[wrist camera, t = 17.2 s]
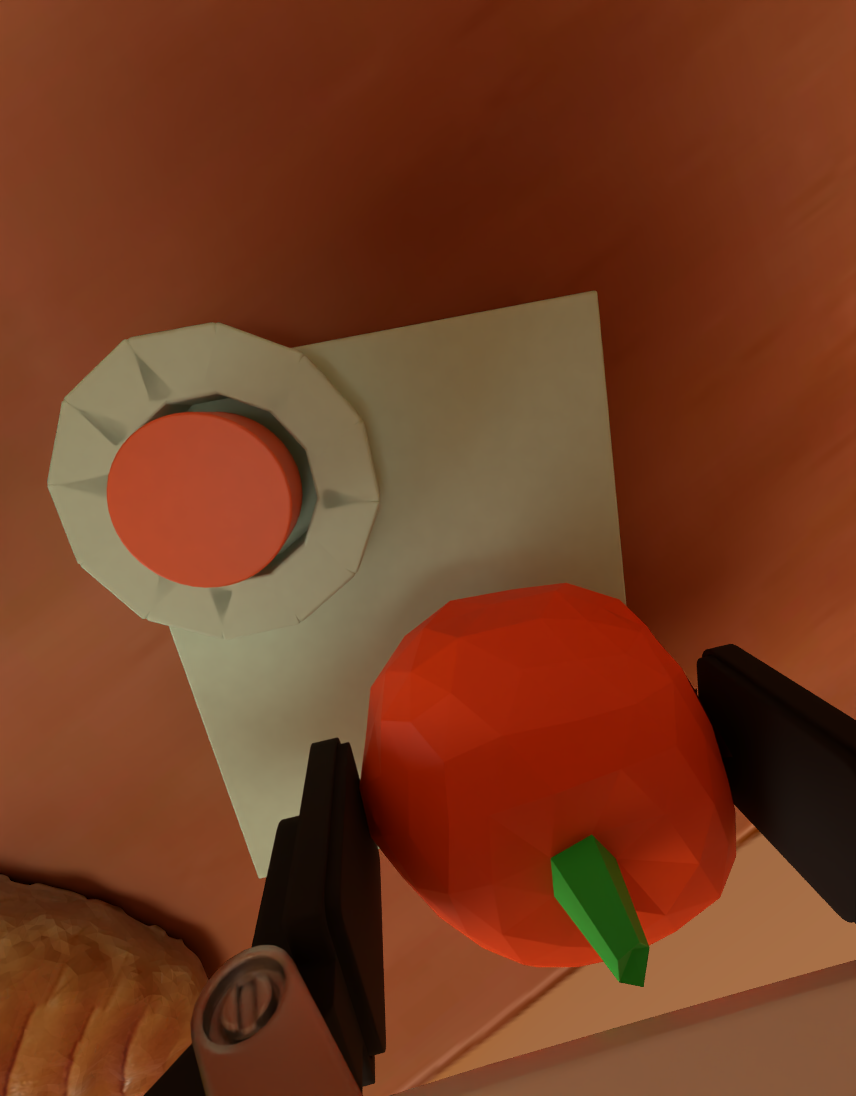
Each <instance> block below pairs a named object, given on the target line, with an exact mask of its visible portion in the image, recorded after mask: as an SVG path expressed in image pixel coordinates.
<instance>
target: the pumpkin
mask: <svg viewBox="0 0 856 1096" xmlns="http://www.w3.org/2000/svg"><path fill="white" fill-rule="evenodd" d="M724 757H733V756H732V754H731V752H730V751H729V749H728V747H727V745H726V744H725V742H724V740H723V738H722V737H721V735H720V733H719V732H718V730H717V728H716V726H715V725H714V723H713V721H712V719H711V718H710V716H709V714H708V712H707V711H706V709H705V707H704V706H703V704H702V702H701V700H700V699H699V697H698V695H697V688H696V689H695V690H694V688H693V686H692V685H691V683H690V681H689V680H688V678H687V677H686V675H685V673H684V671H683V670H682V668H681V667H680V666H679V665H678V663H677V662H676V661H675V660H674V659H673V658H672V657H671V656H670V654H669V653H668V652H667V651H666V650H665V649H664V648H663V647H662V645H661V644H660V643H659V642H658V641H657V640H656V639H655V637H654V636H653V634H652V633H651V631H650V630H649V628H648V627H647V626H646V625H645V624H644V623H643V622H642V621H641V620H640V619H639V618H638V617H637V616H636V615H635V614H634V613H633V612H632V611H631V610H630V609H629V608H628V607H627V606H626V605H625V604H624V603H623V602H621V601H620V600H619V599H617V598H613V597H610V596H607V595H604V594H601V593H598V592H594V591H591V590H588V589H585V588H582V587H579V586H575V585H572V584H569V583H559V584H551V585H543V586H535V587H527V588H519V589H511V590H506V591H500V592H495V593H489V594H484V595H479V596H473V597H468V598H462V599H457V600H451V601H449V602H448V603H447V604H445V605H444V606H443V607H441V608H440V609H439V610H438V611H436V612H435V613H434V614H432V615H431V616H430V617H429V618H427V619H426V620H425V621H423V622H422V623H421V624H420V625H418V626H417V627H416V628H414V629H413V630H412V631H411V632H409V633H408V634H407V635H405V636H404V638H403V639H402V641H401V642H400V644H399V645H398V647H397V648H396V650H395V651H394V653H393V654H392V656H391V657H390V659H389V660H388V662H387V663H386V665H385V667H384V668H383V670H382V671H381V673H380V674H379V676H378V677H377V679H376V680H375V682H374V683H373V685H372V686H371V689H370V699H369V709H368V719H367V729H366V739H365V747H364V755H363V762H362V770H361V778H360V786H359V788H360V793H361V797H362V801H363V805H364V810H365V814H366V818H367V822H368V826H369V831H370V835H371V838H372V839H373V841H374V842H375V843H376V844H377V846H378V847H379V848H380V849H381V851H382V852H383V853H384V854H385V856H386V857H387V858H388V859H389V861H390V862H391V863H392V864H393V866H394V867H395V868H396V870H397V871H398V872H399V873H400V875H401V876H402V877H403V878H404V879H405V880H406V882H407V883H408V884H409V885H410V886H411V887H412V888H413V889H414V890H415V891H416V892H417V893H418V894H419V896H420V897H421V898H422V899H423V900H424V901H425V902H426V903H427V904H428V905H429V906H430V907H431V908H432V909H433V911H434V912H435V913H436V914H437V915H438V916H439V917H440V918H441V919H443V920H444V921H446V922H447V923H448V924H450V925H451V926H453V927H454V928H455V929H457V930H458V931H460V932H461V933H463V934H464V935H465V936H467V937H468V938H470V939H471V940H472V941H474V942H475V943H477V944H478V945H479V946H481V947H482V948H484V949H487V950H489V951H491V952H494V953H496V954H499V955H501V956H504V957H506V958H509V959H511V960H513V961H516V962H518V963H521V964H523V965H527V966H534V967H580V966H585V965H589V964H594V963H599V962H604V963H605V964H606V965H607V967H608V968H609V969H610V971H611V972H612V973H613V975H614V976H615V977H616V978H617V980H618V981H619V982H620V983H626V984H631V985H636V986H641V987H644V980H645V973H646V967H647V960H648V954H649V945H651V944H653V943H655V942H657V941H659V940H660V939H662V938H664V937H666V936H668V935H670V934H672V933H674V932H676V931H677V930H678V929H679V928H681V927H682V926H683V925H685V924H686V923H687V922H689V921H690V920H691V919H692V918H694V917H695V916H697V915H698V914H699V913H701V912H702V911H703V910H704V909H706V908H707V907H708V906H710V905H711V904H712V903H714V902H715V901H716V900H718V899H719V898H720V896H721V893H722V891H723V889H724V886H725V884H726V881H727V879H728V876H729V873H730V871H731V868H732V866H733V863H734V860H735V858H736V824H735V808H734V804H733V799H732V795H731V790H730V786H729V782H728V778H727V774H726V771H725V767H724V764H723V761H722V758H724Z"/></svg>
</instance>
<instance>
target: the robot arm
mask: <svg viewBox="0 0 856 1096" xmlns="http://www.w3.org/2000/svg"><path fill="white" fill-rule="evenodd" d="M697 678H698V695H699V699H700V700H701V702H702V704H703V706H704V707H705V709H706V711H707V712H708V714H709V716H710V718H711V719H712V721H713V723H714V725H715V726H716V728H717V730H718V732H719V733H720V735H721V737H722V738H723V740H724V742H725V744H726V745H727V747H728V749H729V751H730V752H731V754H732V756H733V757H724V758H722V761H723V764H724V767H725V771H726V774H727V778H728V782H729V786H730V790H731V795H732V799H733V804H734V805H735V806H736V807H737V808H738V809H739V810H740V811H741V812H742V813H743V814H744V815H745V816H746V817H747V818H748V819H749V821H750V822H751V823H752V824H753V825H754V826H755V827H756V828H757V829H758V830H759V831H760V832H761V833H762V834H763V835H764V836H765V837H766V839H767V840H768V841H769V842H770V843H771V844H772V845H773V846H774V847H775V848H776V849H777V850H778V851H779V852H780V853H781V855H783V857H784V858H785V859H786V860H787V861H788V862H789V863H790V864H791V865H792V866H793V867H794V868H795V869H796V870H797V871H798V872H799V874H801V876H802V877H803V878H804V879H805V880H806V881H807V882H808V883H809V884H810V885H811V886H812V887H813V888H814V889H815V891H817V893H818V894H819V895H820V896H821V897H822V898H823V899H824V900H825V901H826V902H827V903H828V904H829V905H830V906H831V908H832V909H833V910H834V911H835V912H836V913H837V914H838V915H839V916H841V918H842V919H844V920H845V921H847V922H851V923H852V922H855V923H856V720H854V719H853V718H851V717H850V716H848V715H846V714H845V713H843V712H842V711H840V710H838V709H837V708H835V707H834V706H832V705H830V704H829V703H827V702H826V701H824V700H822V699H821V698H819V697H818V696H816V695H814V694H813V693H811V692H810V691H808V690H806V689H805V688H803V687H802V686H800V685H798V684H797V683H795V682H794V681H792V680H790V679H789V678H787V677H786V676H784V675H782V674H781V673H779V672H778V671H776V670H775V669H773V668H771V667H770V666H768V665H767V664H765V663H763V662H762V661H760V660H759V659H757V658H755V657H754V656H752V655H751V654H749V653H747V652H746V651H744V650H743V649H741V648H739V647H738V646H736V645H734V644H728V645H724V646H719V647H715V648H711V649H707V650H705V651H704V652H703V655H702V658H699V659H698V661H697ZM359 786H360V778H359V774H358V771H357V767H356V763H355V759H354V756H353V752H352V748H351V745H350V743H349V742H346V743H342V744H341V742H340V740H339V738H338V737H336V738H332V739H328V740H324V741H320V742H315V743H312V744H311V747H310V752H309V758H308V764H307V771H306V777H305V783H304V789H303V795H302V801H301V807H300V813H299V816H295V817H291V818H287V819H282V820H281V821H280V822H279V824H278V827H277V830H276V835H275V840H274V845H273V849H272V854H271V859H270V863H269V868H268V873H267V877H266V882H265V887H264V891H263V896H262V901H261V905H260V910H259V915H258V920H257V924H256V929H255V934H254V938H253V943H252V948H249V949H246V950H244V951H242V952H241V953H239V954H237V955H235V956H234V957H232V958H230V959H229V960H228V961H227V962H226V963H225V964H224V965H222V966H221V967H220V968H219V969H218V970H217V971H216V972H215V973H214V974H213V976H212V977H211V978H210V980H209V981H208V982H207V983H206V985H205V986H204V987H203V989H202V991H201V993H200V995H199V997H198V999H197V1001H196V1003H195V1005H194V1009H193V1013H192V1018H191V1022H190V1029H191V1041H192V1044H191V1045H190V1046H189V1047H188V1048H187V1049H186V1050H185V1051H184V1052H183V1053H182V1054H181V1056H180V1057H179V1058H178V1059H177V1060H176V1061H175V1062H174V1063H173V1064H172V1065H171V1066H170V1067H169V1069H168V1070H167V1071H166V1072H165V1073H164V1074H163V1075H162V1076H161V1077H160V1078H159V1079H158V1080H157V1082H156V1083H155V1084H154V1085H153V1086H152V1087H151V1088H150V1089H149V1090H148V1091H147V1092H146V1093H145V1095H144V1096H363V1095H362V1087H363V1086H367V1085H370V1084H374V1083H375V1055H377V1054H380V1053H384V1052H385V1049H386V1030H385V999H384V969H383V938H382V908H381V877H380V858H379V850H378V846H377V844H376V843H375V842H374V841H373V839H372V838H371V835H370V831H369V826H368V822H367V818H366V814H365V810H364V805H363V801H362V797H361V793H360V788H359ZM390 1096H856V960H854V961H850V962H847V963H843V964H839V965H836V966H832V967H829V968H825V969H821V970H818V971H815V972H811V973H807V974H804V975H800V976H797V977H793V978H789V979H786V980H783V981H779V982H775V983H772V984H768V985H765V986H761V987H758V988H754V989H750V990H747V991H744V992H740V993H737V994H733V995H729V996H726V997H722V998H719V999H715V1000H712V1001H708V1002H704V1003H701V1004H697V1005H694V1006H690V1007H687V1008H683V1009H680V1010H676V1011H673V1012H669V1013H666V1014H662V1015H659V1016H655V1017H652V1018H648V1019H645V1020H641V1021H638V1022H634V1023H631V1024H627V1025H624V1026H620V1027H617V1028H613V1029H610V1030H607V1031H603V1032H600V1033H596V1034H593V1035H589V1036H586V1037H582V1038H579V1039H576V1040H572V1041H569V1042H565V1043H562V1044H558V1045H555V1046H551V1047H548V1048H545V1049H541V1050H538V1051H534V1052H531V1053H528V1054H524V1055H521V1056H517V1057H513V1058H510V1059H507V1060H503V1061H500V1062H497V1063H493V1064H489V1065H486V1066H483V1067H480V1068H477V1069H473V1070H470V1071H467V1072H464V1073H460V1074H457V1075H454V1076H451V1077H448V1078H445V1079H441V1080H439V1081H435V1082H432V1083H429V1084H425V1085H422V1086H419V1087H416V1088H413V1089H409V1090H406V1091H403V1092H400V1093H397V1094H393V1095H390Z"/></svg>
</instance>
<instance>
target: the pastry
mask: <svg viewBox="0 0 856 1096" xmlns="http://www.w3.org/2000/svg"><path fill="white" fill-rule="evenodd" d="M207 982H208V978H207V975H206V973H205V971H204V968H203V966H202V964H201V961H200V960H199V958H198V957H197V956H196V955H195V954H194V953H193V952H192V951H191V950H189V949H188V948H187V947H186V946H185V945H184V943H183V940H182V939H178V940H177V939H174V938H171V937H168V935H167V934H166V931H165V930H163V929H162V928H161V927H159V926H157V925H152V926H147V925H144V924H142V923H141V922H139V921H137V920H135V919H133V918H132V917H130V916H128V915H127V914H126V913H125V912H124V911H123V910H122V908H120V907H119V906H113V905H110V904H108V903H106V902H104V901H101V900H98V899H88V900H87V899H86V898H85V896H83V895H80V894H77V893H75V892H72V891H69V890H65V889H59V888H54V887H50V886H47V885H44V884H40V883H36V884H33V885H24V884H20V883H15V882H13V881H10V879H9V877H8V876H5V875H1V874H0V1096H135V1095H137V1094H141V1093H145V1092H147V1091H148V1090H149V1089H150V1088H151V1087H152V1086H153V1085H154V1084H155V1083H156V1082H157V1080H158V1079H159V1078H160V1077H161V1076H162V1075H163V1074H164V1073H165V1072H166V1071H167V1070H168V1069H169V1067H170V1066H171V1065H172V1064H173V1063H174V1062H175V1061H176V1060H177V1059H178V1058H179V1057H180V1056H181V1054H182V1053H183V1052H184V1051H185V1050H186V1049H187V1048H188V1047H189V1046H190V1045H191V1044H192V1041H191V1029H190V1022H191V1018H192V1013H193V1009H194V1005H195V1003H196V1001H197V999H198V997H199V995H200V993H201V991H202V989H203V987H204V986H205V985H206V983H207Z"/></svg>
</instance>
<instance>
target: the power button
mask: <svg viewBox="0 0 856 1096" xmlns="http://www.w3.org/2000/svg"><path fill="white" fill-rule="evenodd" d="M302 496H303V493H302V482H301V477H300V473H299V470H298V467H297V465H296V463H295V460H294V458H293V456H292V455H291V453H290V452H289V450H288V449H287V447H286V446H285V445H284V444H283V442H282V441H281V440H280V439H279V438H278V437H277V436H276V435H275V434H274V433H273V432H271V431H270V430H269V429H267V428H266V427H265V426H263V425H261V424H260V423H258V422H256V421H254V420H252V419H249V418H247V417H245V416H241V415H237V414H234V413H227V412H181V413H173V414H169V415H166V416H162V417H159V418H157V419H155V420H152V421H150V422H148V423H147V424H145V425H143V426H142V427H140V428H139V429H138V430H136V431H135V432H134V433H133V434H132V435H130V437H129V438H128V439H127V440H126V441H125V442H124V443H123V444H122V446H121V447H120V449H119V450H118V452H117V454H116V456H115V458H114V460H113V462H112V464H111V468H110V471H109V475H108V481H107V504H108V511H109V514H110V518H111V521H112V524H113V526H114V528H115V531H116V533H117V535H118V536H119V538H120V539H121V541H122V543H123V544H124V546H125V547H126V548H127V549H128V551H129V552H130V553H131V554H132V555H133V556H134V557H135V558H136V559H137V560H138V561H139V562H140V563H141V564H143V565H144V566H145V567H147V568H148V569H149V570H151V571H153V572H154V573H156V574H157V575H159V576H161V577H164V578H166V579H168V580H170V581H173V582H176V583H179V584H183V585H188V586H192V587H203V588H212V587H222V586H228V585H232V584H235V583H239V582H241V581H244V580H246V579H248V578H250V577H252V576H253V575H255V574H257V573H259V572H260V571H261V570H262V569H264V568H265V567H266V566H267V565H268V564H269V563H270V562H271V561H272V560H273V559H274V558H275V557H276V555H277V554H278V553H279V551H280V550H281V548H282V547H283V545H284V543H285V542H286V540H287V539H288V537H289V535H290V534H291V532H292V530H293V528H294V527H295V525H296V523H297V520H298V517H299V515H300V511H301V506H302Z"/></svg>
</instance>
